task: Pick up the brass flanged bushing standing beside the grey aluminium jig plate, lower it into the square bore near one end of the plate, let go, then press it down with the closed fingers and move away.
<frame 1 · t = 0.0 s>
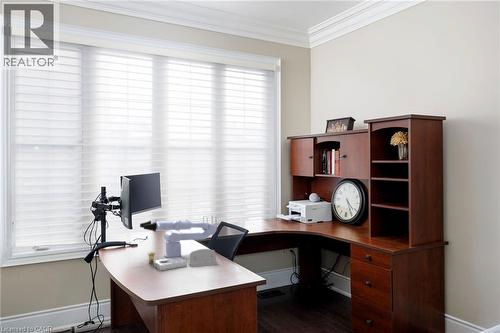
hand: (142, 226, 229), 22 cm above the table, tool horizontal, fingers open, 7 cm apart
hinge: (203, 264, 221), on the table
jig: (170, 265, 217), on the table
bushing: (151, 262, 224), on the table
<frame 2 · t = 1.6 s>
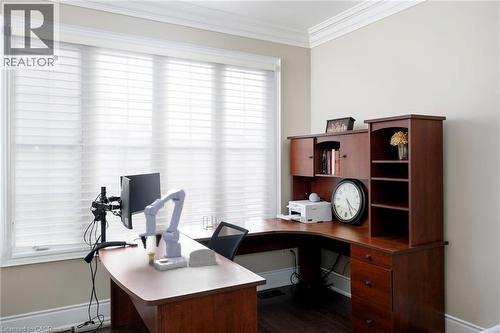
hand: (151, 247, 224), 9 cm above the table, tool pointing down, fingers open, 7 cm apart
nothing on the table moved.
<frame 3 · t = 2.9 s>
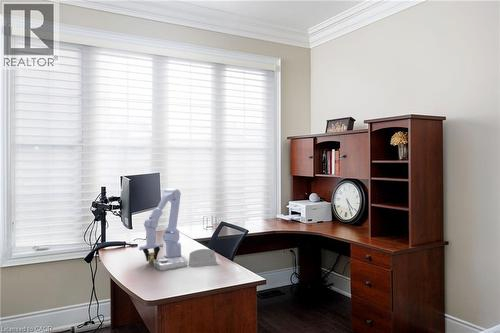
hand: (151, 260, 224), 2 cm above the table, tool pointing down, fingers closed on bushing, 4 cm apart
bushing: (151, 262, 224), on the table, touching gripper
everything else where it was.
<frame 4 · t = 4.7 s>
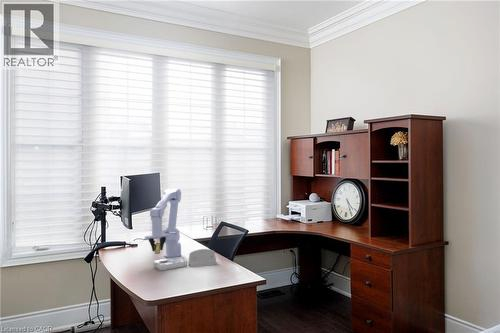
hand: (157, 250, 220), 9 cm above the table, tool pointing down, fingers closed on bushing, 4 cm apart
bushing: (157, 253, 220), point 7 cm above the table, touching gripper
everything else where it was.
when the fingers open (4 cm above the table, at t = 6.5 s): bushing drops 2 cm, resting in jig.
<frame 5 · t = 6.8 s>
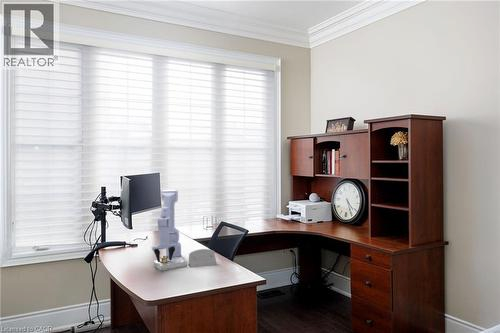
hand: (164, 260, 215), 4 cm above the table, tool pointing down, fingers open, 7 cm apart
bushing: (164, 266, 216), resting in jig
everything else where it was.
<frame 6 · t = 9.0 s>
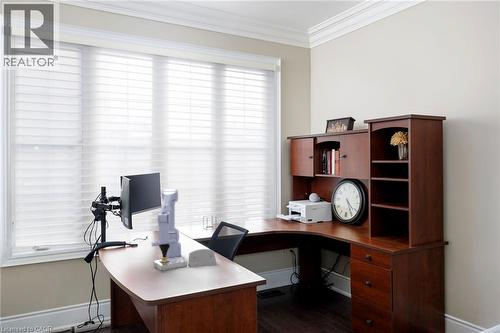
hand: (164, 256, 215), 6 cm above the table, tool pointing down, fingers closed, pressing on bushing
bushing: (164, 266, 216), resting in jig, touching gripper
everything else where it was.
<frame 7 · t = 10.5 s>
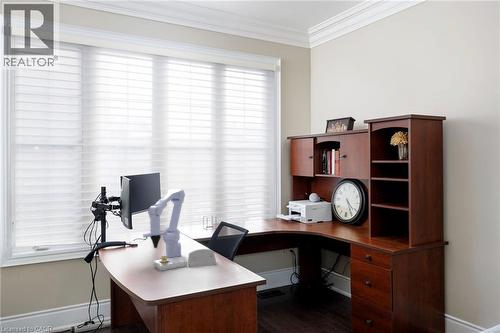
hand: (155, 247, 224), 9 cm above the table, tool pointing down, fingers closed
bushing: (164, 266, 216), resting in jig
everything else where it was.
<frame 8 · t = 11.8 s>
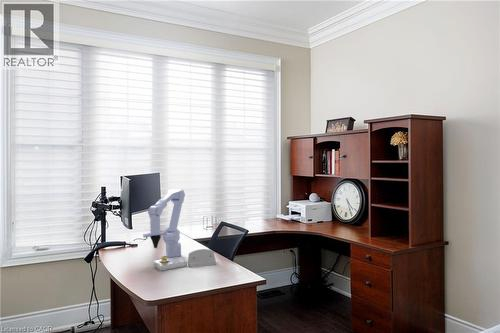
hand: (155, 247, 224), 9 cm above the table, tool pointing down, fingers closed
nothing on the table moved.
at the end: bushing 0.2 cm from the target spot on the jig, point 0.0 cm above the jig's base; bushing tilted 0°; the gripper is holding nothing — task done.
